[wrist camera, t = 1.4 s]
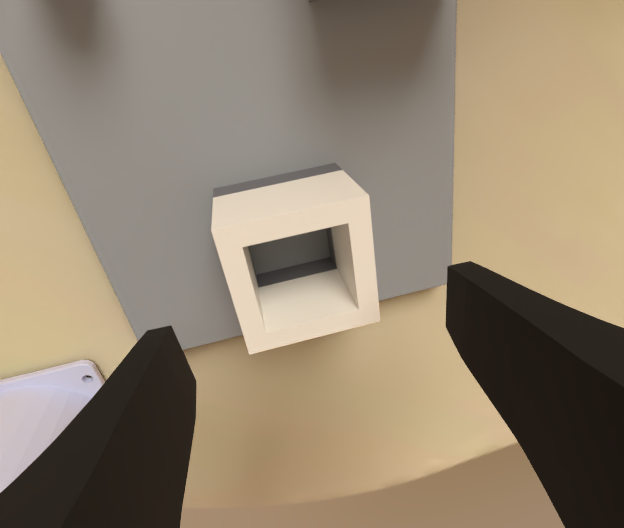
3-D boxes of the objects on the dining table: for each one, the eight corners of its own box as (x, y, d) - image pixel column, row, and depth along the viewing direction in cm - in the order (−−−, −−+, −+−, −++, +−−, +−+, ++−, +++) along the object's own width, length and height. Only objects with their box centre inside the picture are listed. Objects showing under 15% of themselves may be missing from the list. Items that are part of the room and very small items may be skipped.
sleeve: (348, 267, 20) (380, 321, 16) (243, 292, 19) (249, 354, 15) (335, 162, 17) (369, 195, 13) (213, 188, 16) (210, 230, 13)
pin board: (438, 269, 23) (483, 314, 19) (151, 340, 21) (135, 405, 17) (437, -266, 13) (533, -406, 9) (-99, -209, 11) (-271, -349, 7)
